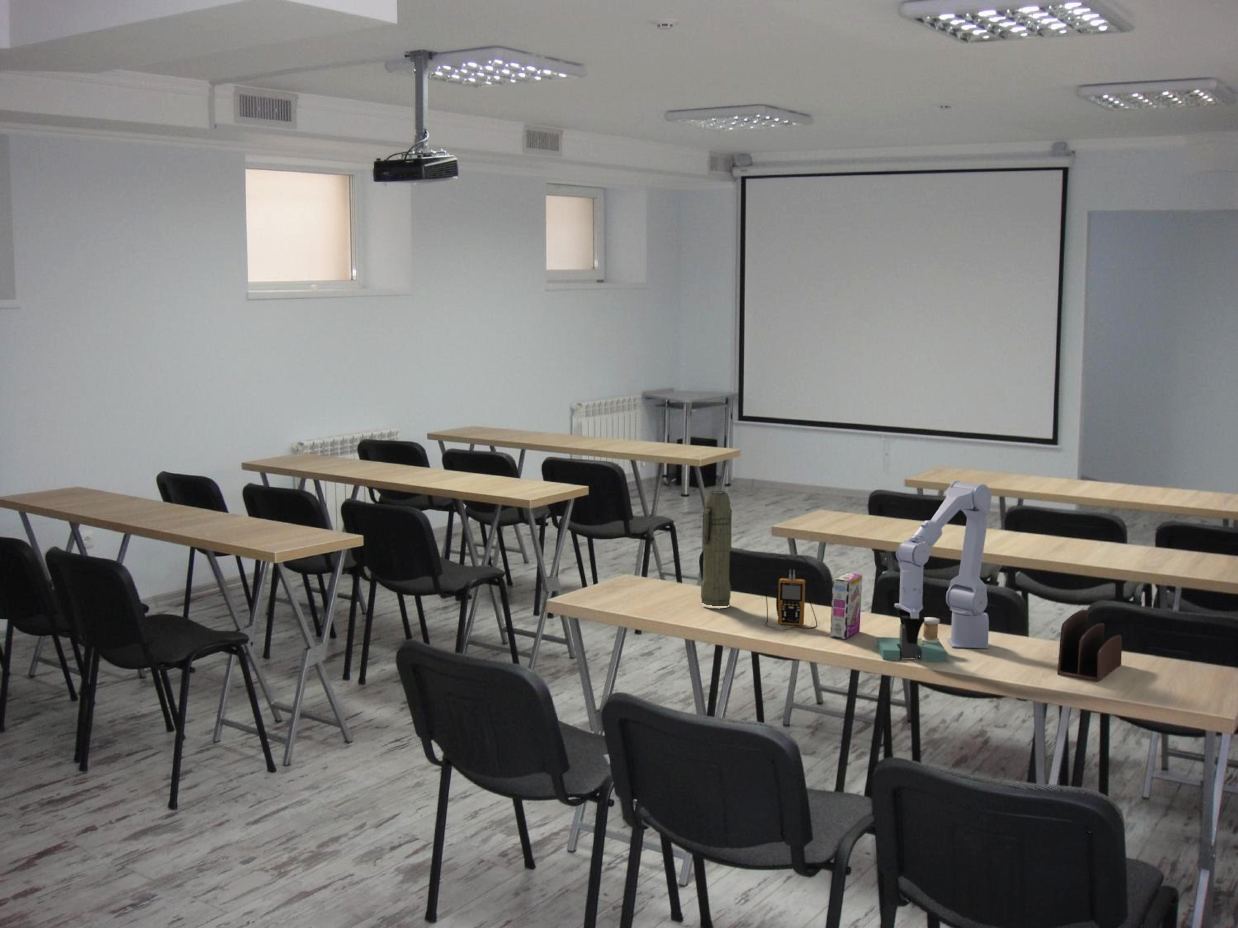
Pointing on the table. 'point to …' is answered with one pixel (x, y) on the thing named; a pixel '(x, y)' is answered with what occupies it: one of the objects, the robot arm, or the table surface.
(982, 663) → the table surface
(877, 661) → the table surface
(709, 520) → the thermos
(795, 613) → the multimeter
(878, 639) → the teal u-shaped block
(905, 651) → the terminal peg
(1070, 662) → the letter holder
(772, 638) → the table surface
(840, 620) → the candy bar box
